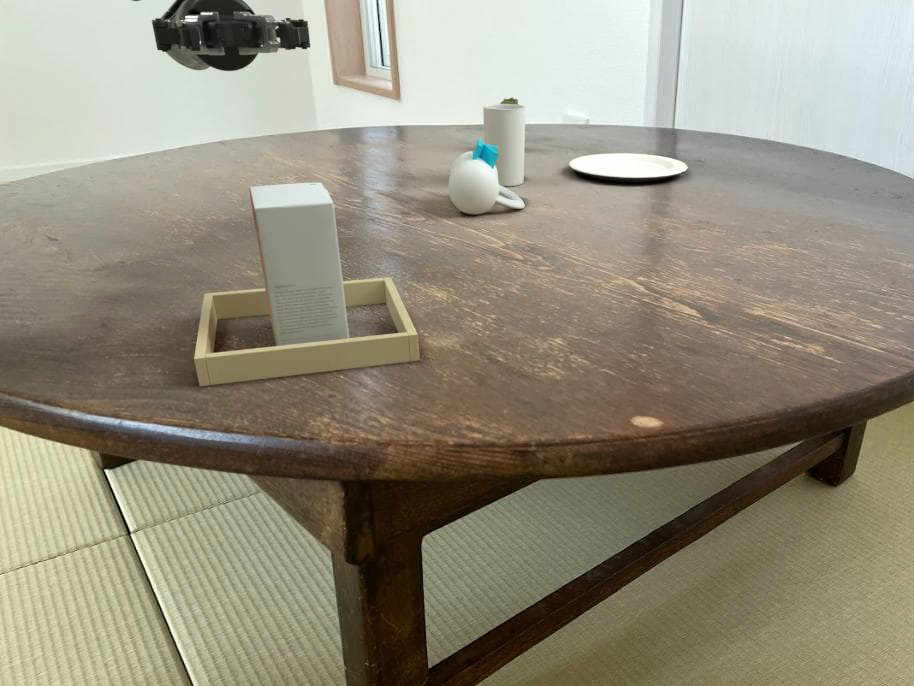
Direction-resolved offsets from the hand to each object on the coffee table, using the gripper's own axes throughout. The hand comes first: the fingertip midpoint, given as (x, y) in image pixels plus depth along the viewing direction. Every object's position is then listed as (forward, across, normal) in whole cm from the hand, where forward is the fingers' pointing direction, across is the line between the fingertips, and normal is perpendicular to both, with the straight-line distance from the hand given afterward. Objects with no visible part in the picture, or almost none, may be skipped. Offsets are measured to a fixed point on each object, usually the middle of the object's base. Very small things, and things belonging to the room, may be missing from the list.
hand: (243, 37), depth 73 cm
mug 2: (-24, -35, -24) cm, 49 cm away
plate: (-36, -67, -24) cm, 80 cm away
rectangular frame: (+15, +1, -25) cm, 29 cm away
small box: (+15, 0, -24) cm, 29 cm away
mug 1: (-40, -45, -24) cm, 65 cm away
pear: (-64, -58, -24) cm, 90 cm away
